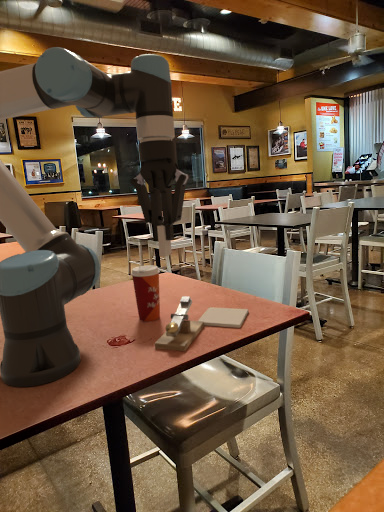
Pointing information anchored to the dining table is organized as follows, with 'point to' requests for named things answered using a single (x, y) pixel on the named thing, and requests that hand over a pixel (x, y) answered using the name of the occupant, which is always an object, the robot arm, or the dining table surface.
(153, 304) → the paper cup
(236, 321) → the tile
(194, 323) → the lever base
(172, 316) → the lever
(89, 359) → the dining table surface
